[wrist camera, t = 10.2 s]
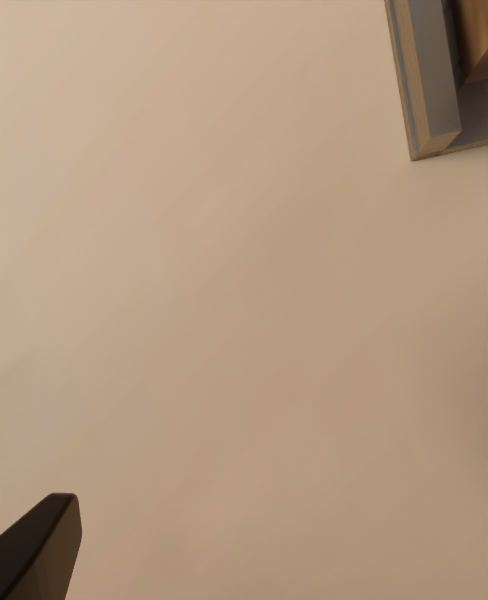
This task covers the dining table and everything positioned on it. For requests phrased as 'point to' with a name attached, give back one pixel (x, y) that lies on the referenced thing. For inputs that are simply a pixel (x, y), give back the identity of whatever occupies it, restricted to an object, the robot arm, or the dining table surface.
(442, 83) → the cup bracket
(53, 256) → the dining table surface
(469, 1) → the tall brown wooden block
